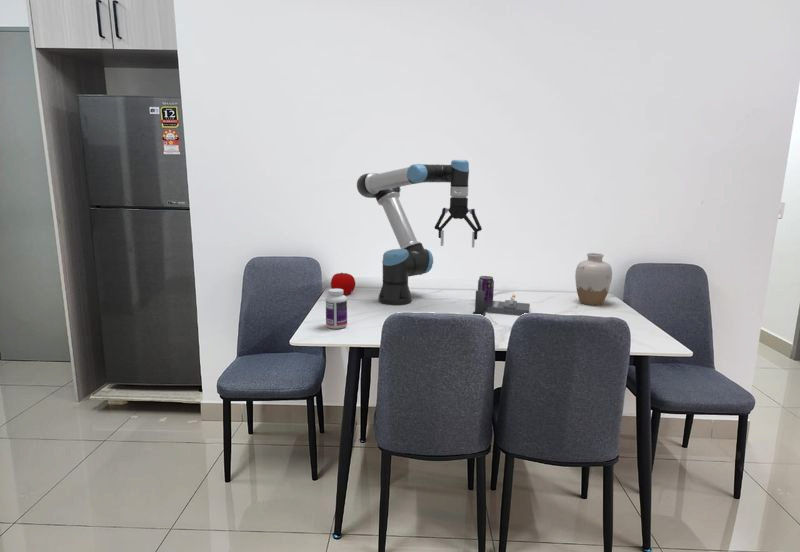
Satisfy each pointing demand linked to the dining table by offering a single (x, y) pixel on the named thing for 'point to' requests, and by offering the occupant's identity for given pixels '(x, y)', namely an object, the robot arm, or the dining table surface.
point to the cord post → (479, 303)
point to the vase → (593, 279)
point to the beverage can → (486, 286)
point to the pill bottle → (336, 309)
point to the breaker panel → (506, 307)
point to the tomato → (343, 282)
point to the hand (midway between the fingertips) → (457, 246)
